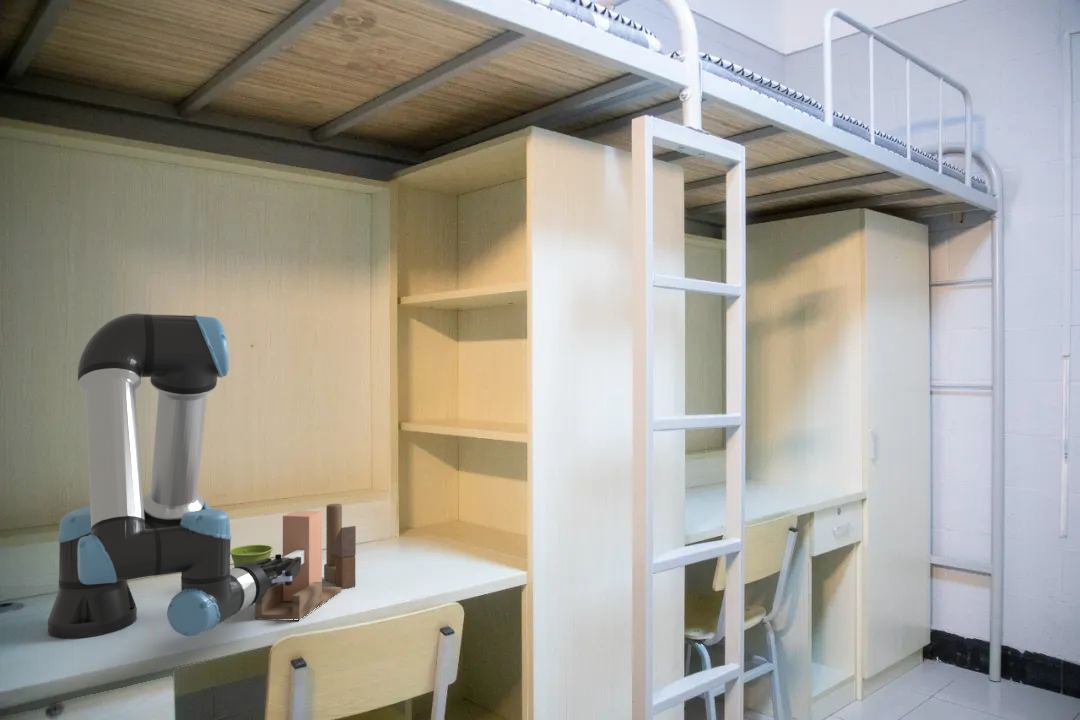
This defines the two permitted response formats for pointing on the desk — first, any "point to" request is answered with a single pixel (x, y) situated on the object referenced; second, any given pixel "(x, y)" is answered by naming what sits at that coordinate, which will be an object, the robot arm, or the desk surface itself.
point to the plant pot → (250, 554)
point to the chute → (293, 602)
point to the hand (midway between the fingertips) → (301, 556)
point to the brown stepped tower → (339, 549)
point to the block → (303, 548)
